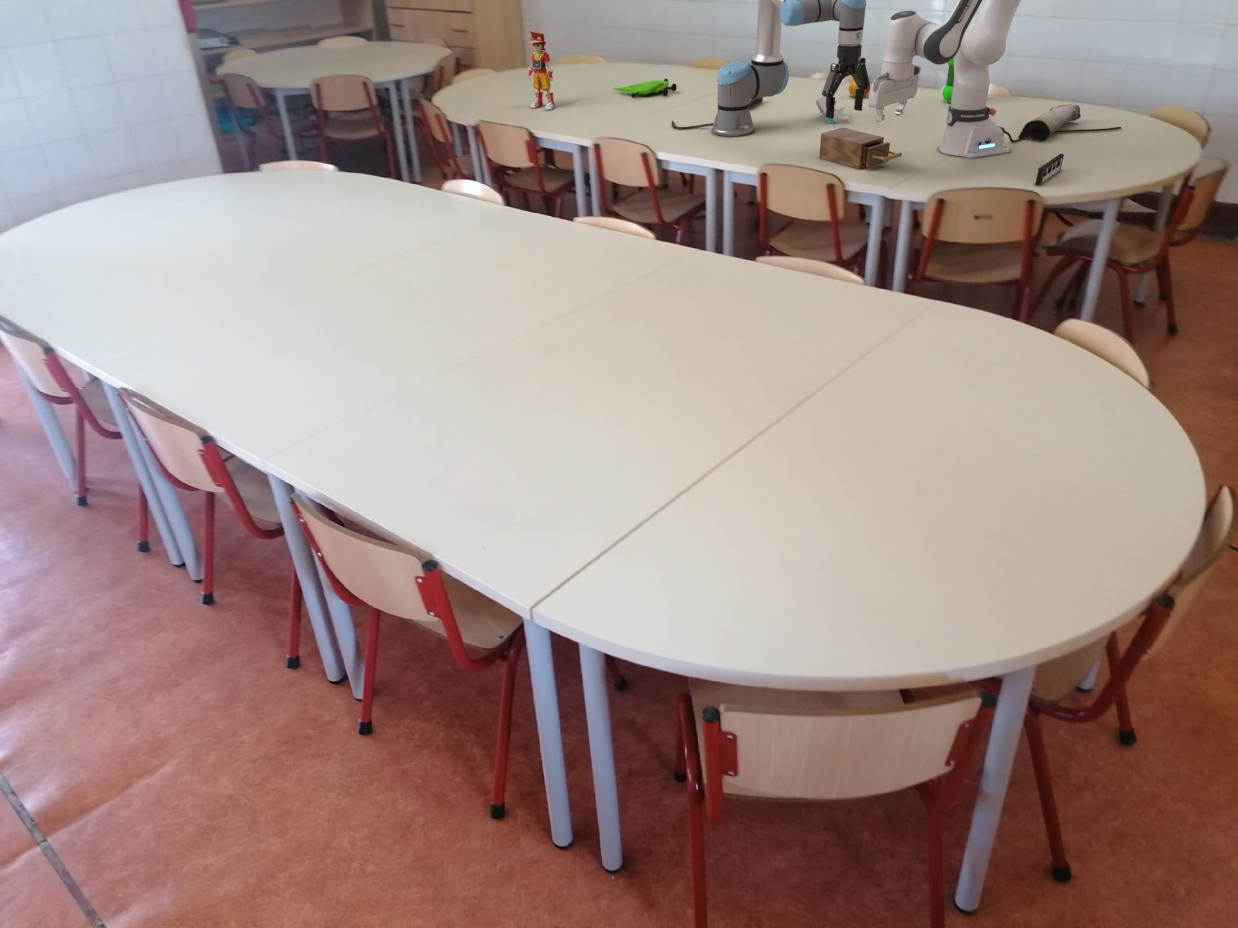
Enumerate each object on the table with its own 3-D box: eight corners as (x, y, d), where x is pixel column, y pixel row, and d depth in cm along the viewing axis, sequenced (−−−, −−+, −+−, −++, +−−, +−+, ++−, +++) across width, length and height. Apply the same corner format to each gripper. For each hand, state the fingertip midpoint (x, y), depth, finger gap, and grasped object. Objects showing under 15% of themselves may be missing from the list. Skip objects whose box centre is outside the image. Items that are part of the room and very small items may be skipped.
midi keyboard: (1039, 185, 269) (1043, 168, 266) (1035, 184, 270) (1038, 168, 267) (1060, 170, 279) (1064, 154, 277) (1056, 169, 280) (1060, 153, 277)
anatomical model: (811, 92, 345) (837, 85, 344) (814, 119, 351) (839, 112, 350) (821, 101, 332) (848, 94, 332) (824, 129, 338) (850, 122, 337)
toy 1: (525, 109, 381) (517, 32, 364) (534, 104, 388) (527, 28, 371) (550, 110, 377) (543, 32, 360) (559, 105, 384) (553, 28, 367)
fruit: (843, 89, 366) (855, 71, 363) (846, 93, 374) (858, 75, 371) (860, 101, 365) (872, 82, 362) (862, 104, 373) (874, 86, 369)
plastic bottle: (973, 101, 354) (984, 32, 339) (955, 106, 349) (966, 36, 335) (952, 97, 361) (962, 29, 346) (934, 102, 356) (944, 33, 342)
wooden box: (881, 162, 296) (884, 137, 292) (859, 169, 291) (861, 144, 287) (840, 151, 308) (843, 127, 304) (819, 158, 304) (821, 133, 299)
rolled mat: (1047, 109, 327) (1072, 92, 319) (1061, 130, 327) (1086, 113, 319) (1014, 132, 309) (1039, 114, 301) (1028, 154, 310) (1054, 137, 302)
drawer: (902, 165, 289) (904, 146, 286) (882, 172, 285) (885, 152, 281) (849, 151, 304) (851, 133, 301) (830, 157, 300) (832, 138, 297)
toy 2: (686, 85, 398) (631, 84, 414) (685, 72, 395) (629, 72, 411) (651, 104, 381) (596, 103, 397) (650, 92, 378) (594, 91, 394)
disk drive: (747, 111, 360) (763, 102, 370) (747, 104, 359) (763, 95, 369) (724, 109, 365) (740, 100, 375) (724, 101, 363) (740, 93, 373)
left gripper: (831, 52, 276) (826, 123, 288) (885, 39, 287) (878, 108, 299) (813, 49, 281) (809, 119, 293) (867, 37, 293) (860, 105, 305)
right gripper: (883, 78, 266) (877, 126, 274) (924, 67, 276) (917, 113, 284) (866, 75, 270) (860, 122, 278) (907, 64, 280) (900, 110, 288)
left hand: (843, 114), depth 296 cm, fingers open, 13 cm apart
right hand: (889, 118), depth 281 cm, fingers open, 8 cm apart
